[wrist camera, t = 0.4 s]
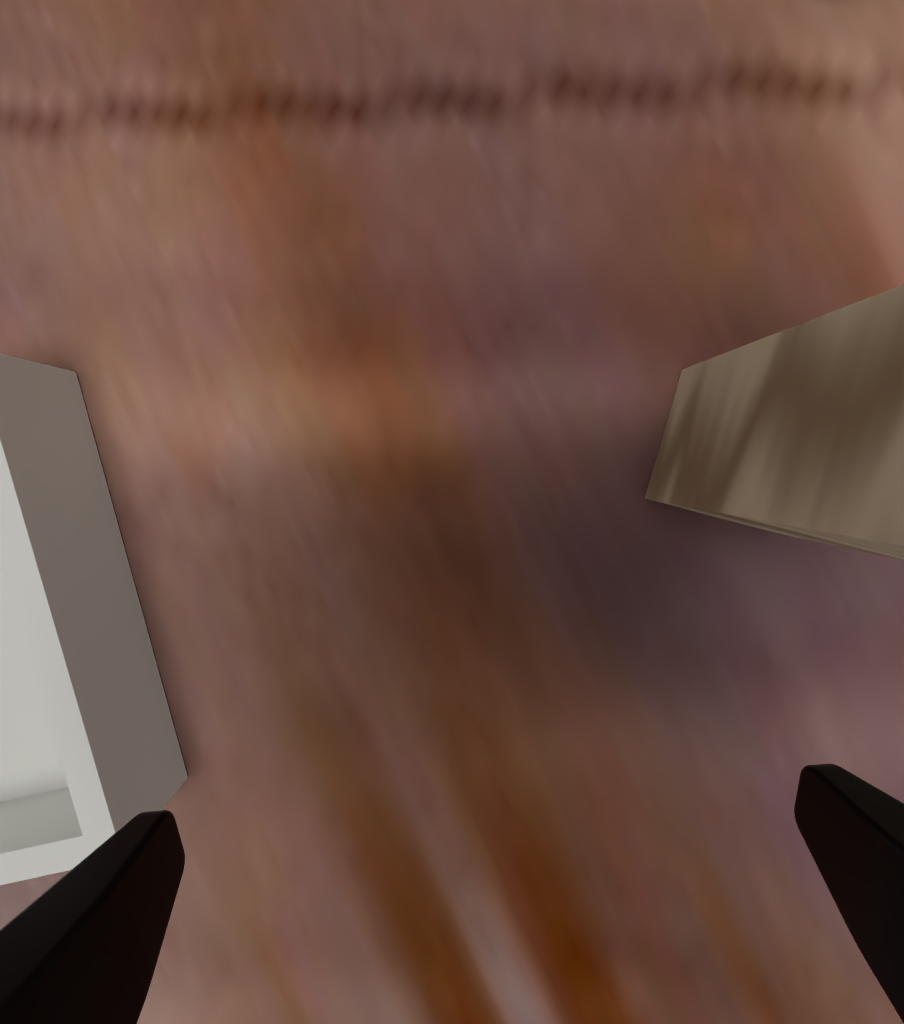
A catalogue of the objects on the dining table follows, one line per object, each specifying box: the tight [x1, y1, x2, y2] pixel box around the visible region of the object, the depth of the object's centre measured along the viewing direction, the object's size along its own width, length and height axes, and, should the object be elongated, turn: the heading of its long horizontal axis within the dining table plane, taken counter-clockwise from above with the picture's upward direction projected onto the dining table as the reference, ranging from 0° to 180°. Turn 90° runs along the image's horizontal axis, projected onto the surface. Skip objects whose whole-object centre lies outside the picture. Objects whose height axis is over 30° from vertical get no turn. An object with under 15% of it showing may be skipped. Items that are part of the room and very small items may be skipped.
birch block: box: [645, 284, 904, 560], centre depth 15 cm, size 5×5×13 cm
